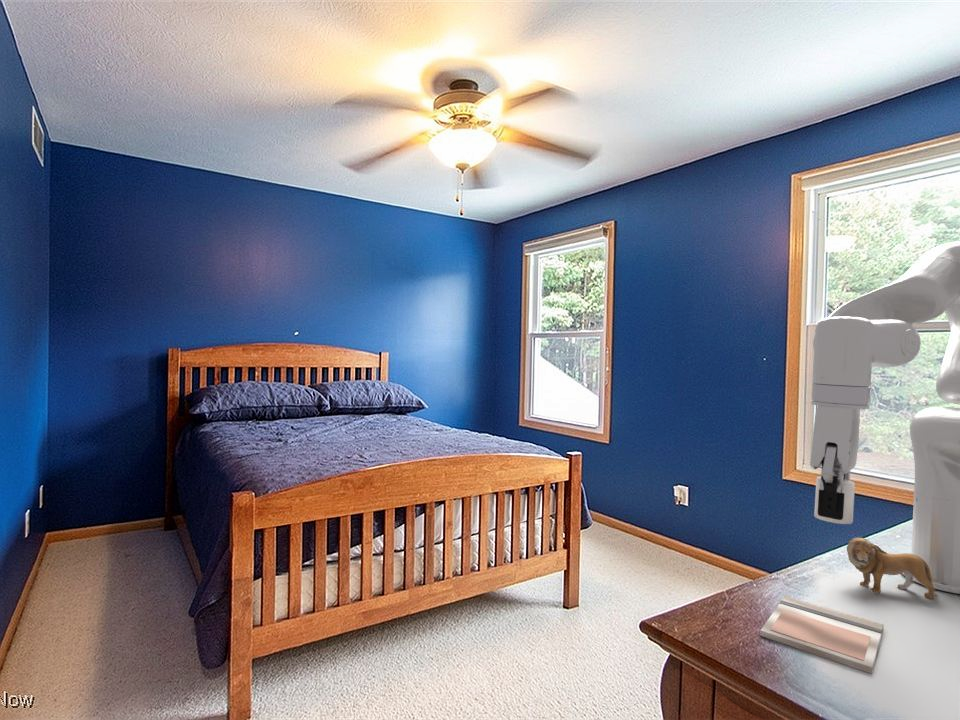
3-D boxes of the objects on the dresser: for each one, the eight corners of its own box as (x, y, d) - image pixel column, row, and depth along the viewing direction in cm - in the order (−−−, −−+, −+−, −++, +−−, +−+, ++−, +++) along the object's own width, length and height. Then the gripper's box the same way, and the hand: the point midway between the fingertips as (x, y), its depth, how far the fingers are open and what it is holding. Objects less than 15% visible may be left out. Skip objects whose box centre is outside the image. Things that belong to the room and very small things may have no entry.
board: (784, 600, 88) (785, 595, 88) (883, 629, 80) (883, 623, 80) (760, 635, 77) (760, 629, 77) (871, 673, 69) (872, 666, 69)
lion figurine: (856, 595, 91) (858, 543, 91) (837, 582, 97) (839, 532, 96) (947, 600, 90) (950, 547, 90) (923, 586, 96) (925, 536, 95)
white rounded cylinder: (817, 512, 87) (819, 475, 87) (855, 519, 84) (857, 481, 84) (811, 518, 84) (813, 479, 84) (849, 526, 80) (852, 486, 80)
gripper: (822, 393, 92) (816, 499, 93) (799, 396, 80) (793, 519, 80) (876, 397, 87) (870, 509, 88) (861, 401, 75) (854, 532, 75)
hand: (833, 512), depth 84 cm, fingers closed on white rounded cylinder, 4 cm apart
